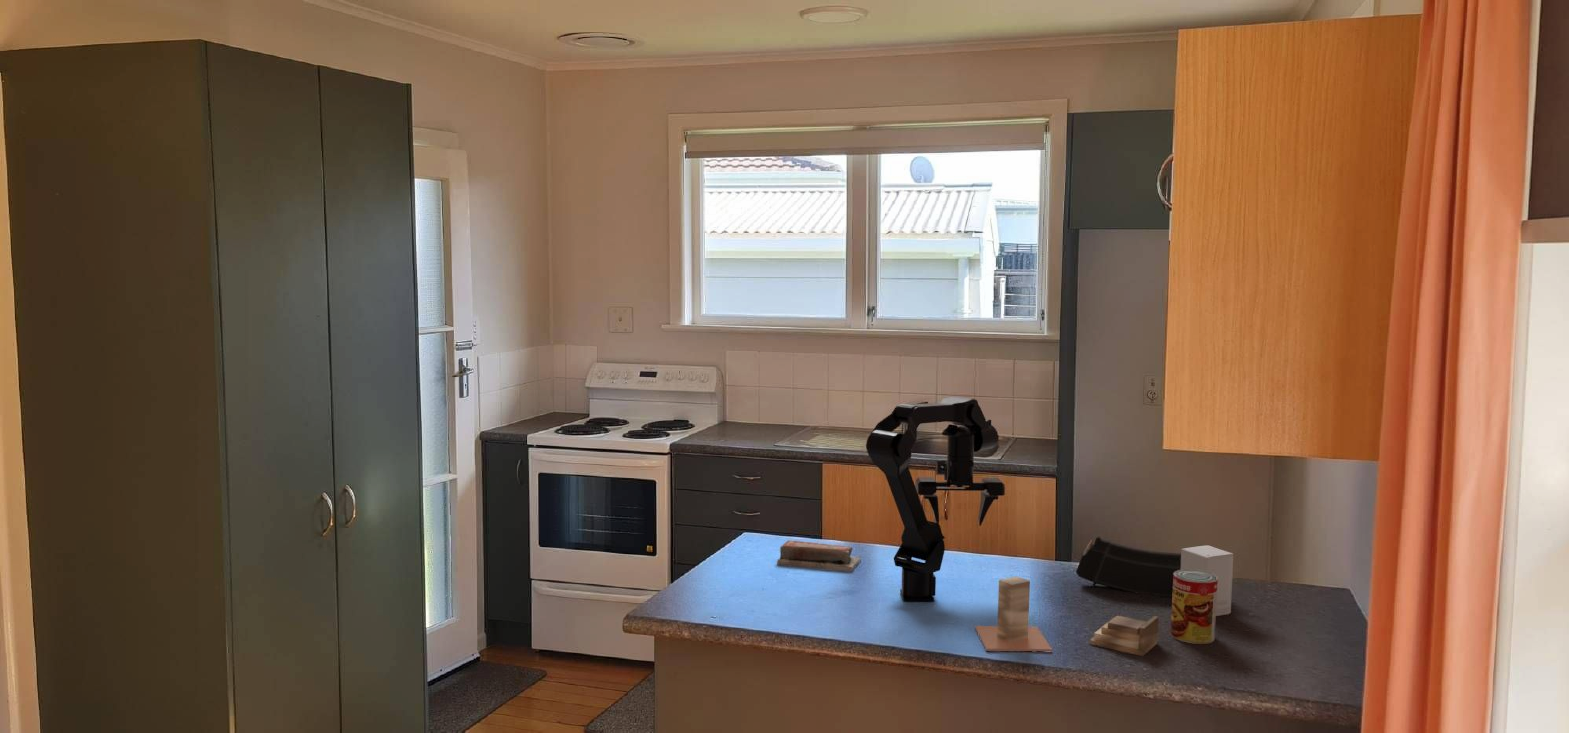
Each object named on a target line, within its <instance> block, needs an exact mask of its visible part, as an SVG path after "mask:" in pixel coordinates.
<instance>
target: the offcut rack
mask: <svg viewBox="0 0 1569 733" xmlns="http://www.w3.org/2000/svg"><path fill="white" fill-rule="evenodd" d="M1158 630H1159V616H1156V615H1153V616H1152V617H1151V618H1150V619H1148V620H1147V621H1145V620H1140V619H1136V618H1130V617H1127V616H1126V617H1125V616H1122V615H1116V616H1114V617H1113V618H1111V619H1110V620H1108V621H1107V622H1105V624H1104V625H1102V626H1101V627H1099V629H1097V631H1095V632H1094V633H1093V637H1091V638H1090V639H1089V645H1092V646H1096V645H1097V647H1101V648H1104V649H1105V648H1106V649H1110V650H1115V651H1119V652H1122V653H1127V654H1131V655H1136V656H1139V657H1144V656H1145V655H1146V654H1147V653H1149V651H1150V650H1152V649H1153V648H1154V647H1155V646H1156V645H1157V644H1158V632H1159V631H1158Z"/></svg>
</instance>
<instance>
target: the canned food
mask: <svg viewBox="0 0 1569 733" xmlns="http://www.w3.org/2000/svg"><path fill="white" fill-rule="evenodd" d="M1217 584H1218V578H1217V576H1216V575H1214V574H1212V573H1209V572H1205V571H1200V570H1189V569H1185V570H1178V571H1175V572H1174V576H1173V596H1172V597H1171V598H1172V600H1171V616H1170V617H1171V618H1170V619H1171V620H1170V635H1171V637H1172V638H1173V639H1176V640H1177V641H1179V642H1185V643H1189V644H1198V645H1203V644H1211V643H1213V642H1215V636H1216V634H1215V633H1216V620H1217V619H1216V617H1217V616H1216V602H1217Z"/></svg>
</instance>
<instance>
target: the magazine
mask: <svg viewBox="0 0 1569 733" xmlns="http://www.w3.org/2000/svg"><path fill="white" fill-rule="evenodd" d="M1178 570H1181V552H1180V553H1179V552H1168V551H1167V552H1165V551H1154V550H1149V549H1148V550H1147V549H1140V548H1138V547H1137V548H1135V547H1131V546H1126V545H1123V544H1119V543H1115V542H1112V541H1109V540H1105V539H1102V538H1101V536H1099V535H1097V536H1096V538H1095V540H1094V542H1093V539H1091V540H1090V541H1089V543H1088V544H1087V546H1086V548H1085V550H1084V551H1083V553H1082V554H1081V557H1080V560H1079V562H1078V564H1077V566H1076V570H1075V573H1076V575H1077V576H1078V577H1079V578H1082V579H1084V580H1087V581H1089V582H1092V586H1093V585H1094V587H1095V586H1096V585H1100V586H1104V587H1108V588H1113V589H1116V588H1117V590H1120V589H1121V590H1120V591H1126V592H1130V591H1131V593H1135V592H1137V594H1142V593H1143V594H1144V595H1151V594H1156V595H1155V596H1159V595H1162V596H1161V597H1168V596H1169V598H1172V596H1173V576H1174V572H1175V571H1178ZM1143 594H1142V595H1143Z"/></svg>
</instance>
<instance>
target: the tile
mask: <svg viewBox="0 0 1569 733" xmlns="http://www.w3.org/2000/svg"><path fill="white" fill-rule="evenodd" d="M975 629H976V630H975ZM974 630H975V632H976V631H977V632H976V633H978V634H979V636H978V638H979V637H980V638H979V640H980V639H981V640H980V642H981V641H982V642H981V644H982V643H983V644H982V646H983V645H984V646H983V647H985V648H984V650H985V649H986V650H985V651H1052V652H1053V648H1052V647H1051V645H1050V644H1049V642H1048V641H1047V639H1046V638H1045V636H1044V634H1043V633H1042V632H1041V630H1040V629H1039V626H1037V625H1036V626H1031V625H1028V638H1026V639H1022V640H1017V641H1013V642H1008V641H1006V640H1004V639H1002V638H999V637H997V625H975V626H974ZM978 634H977V635H978Z"/></svg>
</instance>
